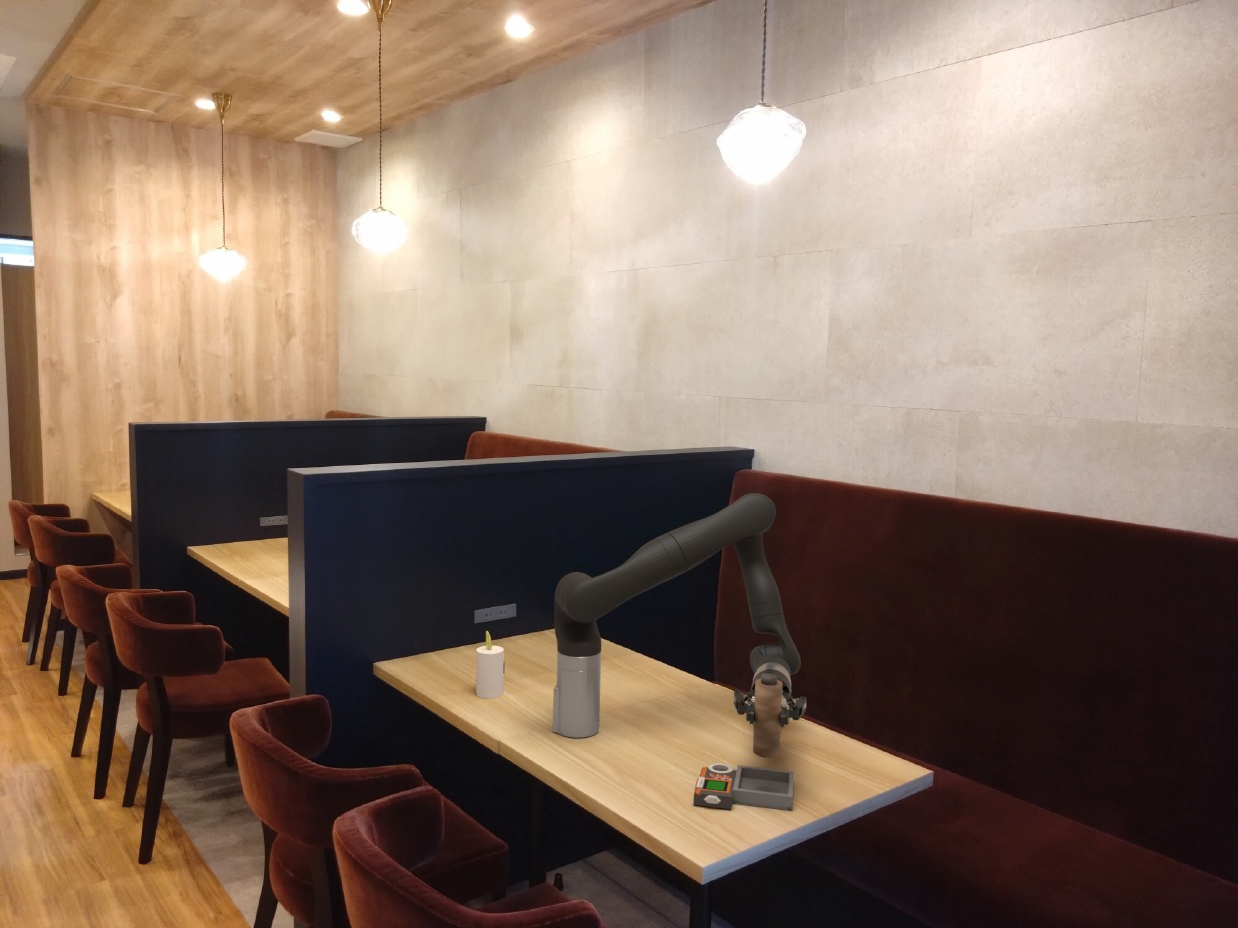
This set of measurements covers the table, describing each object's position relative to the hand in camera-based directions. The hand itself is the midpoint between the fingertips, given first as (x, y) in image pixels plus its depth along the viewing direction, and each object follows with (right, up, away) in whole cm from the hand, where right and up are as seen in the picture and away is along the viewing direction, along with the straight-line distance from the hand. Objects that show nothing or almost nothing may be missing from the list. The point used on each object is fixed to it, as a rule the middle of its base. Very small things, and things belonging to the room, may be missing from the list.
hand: (767, 720), depth 161 cm
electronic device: (-8, -15, +5) cm, 18 cm away
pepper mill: (0, -7, +3) cm, 7 cm away
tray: (0, -15, +4) cm, 15 cm away
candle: (-56, -8, +51) cm, 76 cm away
